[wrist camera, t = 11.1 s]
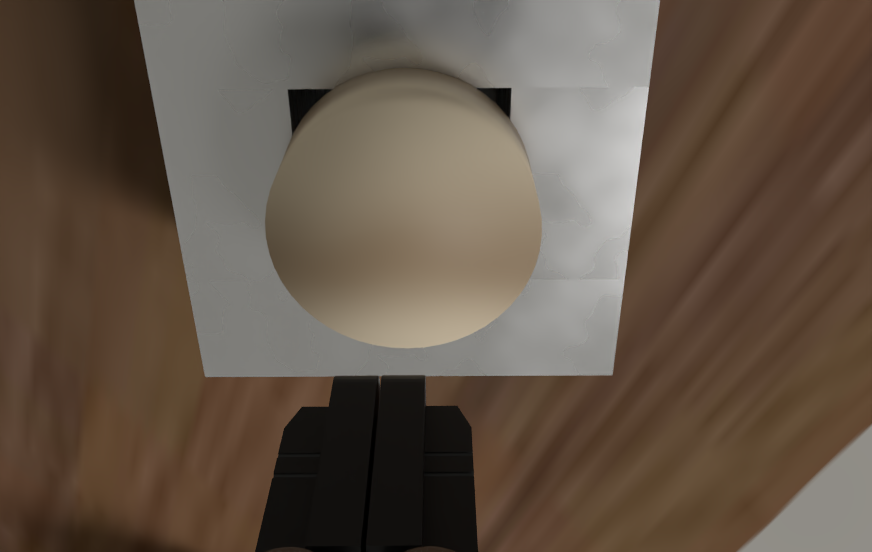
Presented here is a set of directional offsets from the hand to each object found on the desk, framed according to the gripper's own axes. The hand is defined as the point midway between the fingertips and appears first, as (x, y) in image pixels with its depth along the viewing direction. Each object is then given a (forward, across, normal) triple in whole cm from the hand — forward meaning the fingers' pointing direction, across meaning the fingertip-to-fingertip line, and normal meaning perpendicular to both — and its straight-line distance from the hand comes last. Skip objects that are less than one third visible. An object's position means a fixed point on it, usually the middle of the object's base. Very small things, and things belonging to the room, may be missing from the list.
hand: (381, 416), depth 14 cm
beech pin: (+14, 0, 0) cm, 14 cm away
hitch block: (+16, 0, 0) cm, 16 cm away
